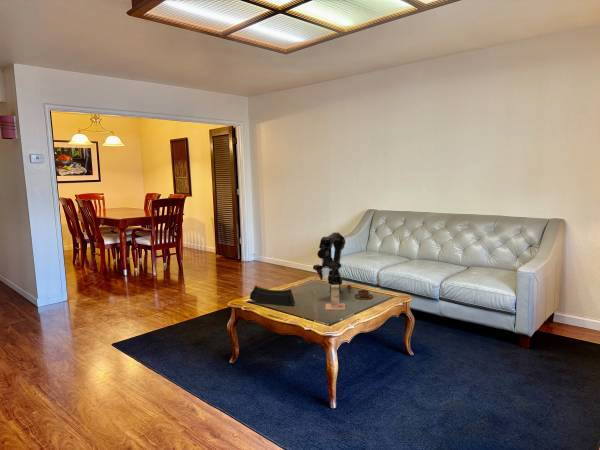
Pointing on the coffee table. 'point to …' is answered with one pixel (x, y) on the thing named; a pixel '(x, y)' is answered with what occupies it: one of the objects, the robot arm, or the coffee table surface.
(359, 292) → the place setting
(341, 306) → the terracotta mat
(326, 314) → the coffee table surface
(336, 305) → the birch block
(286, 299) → the black flat curved piece
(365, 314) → the coffee table surface
